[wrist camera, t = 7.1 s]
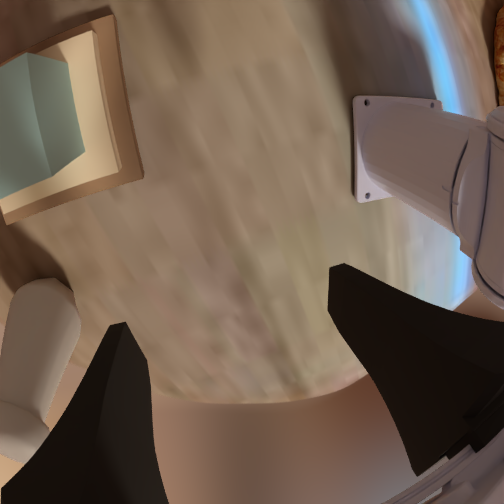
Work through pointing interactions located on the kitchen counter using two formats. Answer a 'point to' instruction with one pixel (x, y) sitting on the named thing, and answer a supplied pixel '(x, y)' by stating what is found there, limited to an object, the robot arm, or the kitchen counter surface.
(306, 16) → the kitchen counter surface
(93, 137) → the wooden base
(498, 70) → the croissant
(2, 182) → the teal block
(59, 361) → the salt shaker
